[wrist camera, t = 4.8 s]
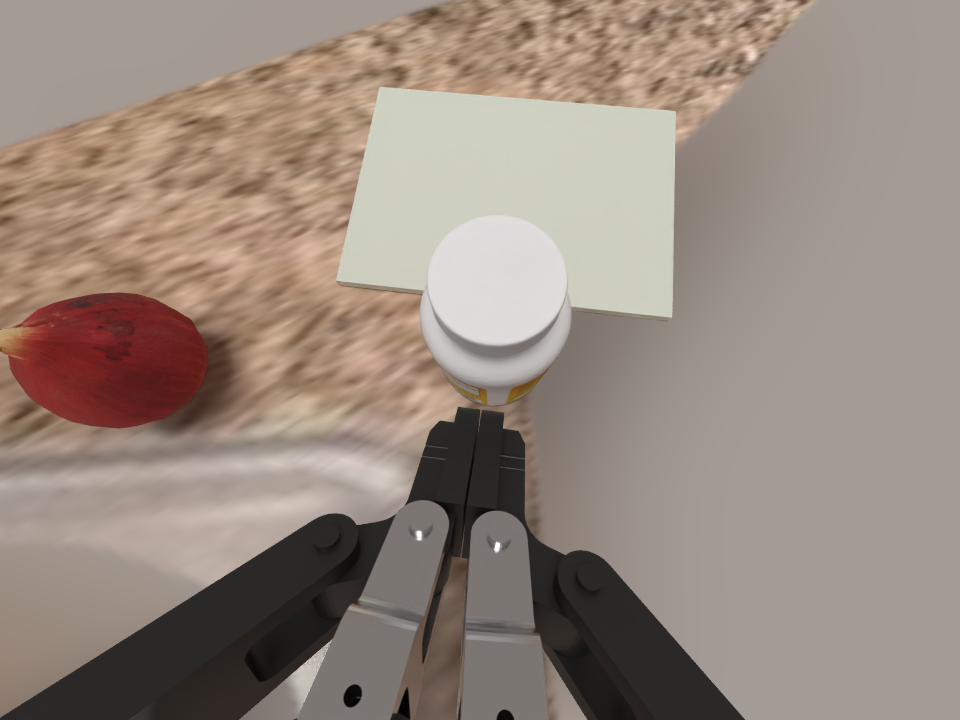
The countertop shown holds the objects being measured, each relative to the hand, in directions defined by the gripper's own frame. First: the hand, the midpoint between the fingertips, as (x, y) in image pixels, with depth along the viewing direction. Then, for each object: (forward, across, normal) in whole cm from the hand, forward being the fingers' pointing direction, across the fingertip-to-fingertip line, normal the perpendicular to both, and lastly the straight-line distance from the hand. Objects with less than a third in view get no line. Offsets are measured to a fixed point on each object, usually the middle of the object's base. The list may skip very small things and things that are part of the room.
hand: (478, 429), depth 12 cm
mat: (+14, 0, -5) cm, 15 cm away
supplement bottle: (+8, 0, +2) cm, 8 cm away
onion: (+6, +16, +4) cm, 17 cm away
